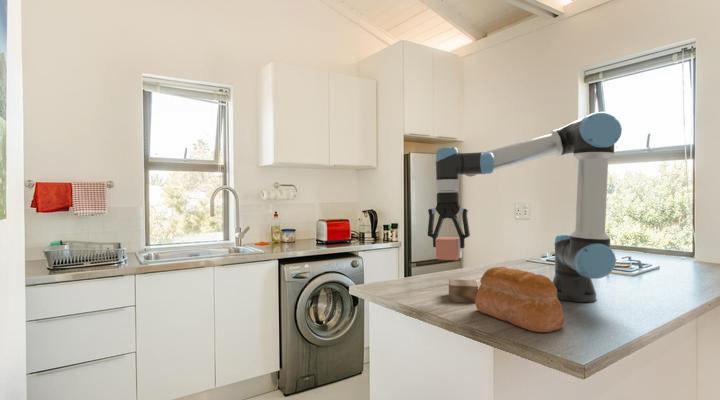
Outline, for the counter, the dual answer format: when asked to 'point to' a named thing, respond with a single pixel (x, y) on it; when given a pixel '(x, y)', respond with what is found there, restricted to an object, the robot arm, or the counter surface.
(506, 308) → the bread
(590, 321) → the counter surface
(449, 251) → the pink cube
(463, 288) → the walnut plinth
